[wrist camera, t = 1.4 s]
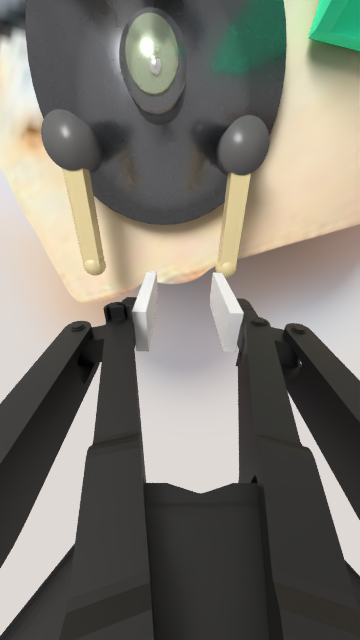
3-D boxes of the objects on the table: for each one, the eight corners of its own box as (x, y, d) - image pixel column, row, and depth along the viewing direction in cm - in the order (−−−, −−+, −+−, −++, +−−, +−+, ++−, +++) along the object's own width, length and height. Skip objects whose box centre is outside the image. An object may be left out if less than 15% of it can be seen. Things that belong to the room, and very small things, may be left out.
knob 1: (57, 121, 25) (32, 107, 21) (99, 122, 25) (84, 108, 21) (87, 267, 34) (75, 278, 30) (119, 267, 34) (110, 278, 30)
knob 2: (217, 126, 25) (225, 113, 21) (259, 127, 25) (275, 114, 21) (205, 269, 34) (209, 280, 30) (236, 270, 34) (244, 281, 30)
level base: (-10, -141, 18) (-176, -433, 10) (315, -124, 18) (432, -389, 10) (71, 220, 33) (34, 231, 24) (251, 224, 33) (277, 236, 25)
